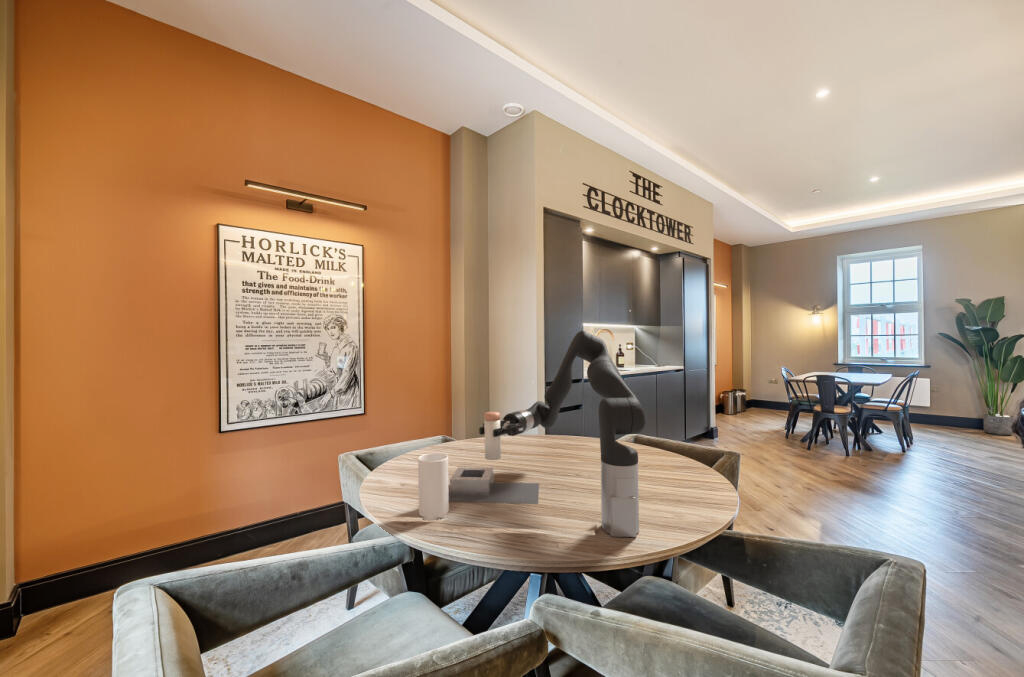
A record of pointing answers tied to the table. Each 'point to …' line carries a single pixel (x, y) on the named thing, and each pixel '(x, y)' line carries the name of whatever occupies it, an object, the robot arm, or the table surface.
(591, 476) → the table surface
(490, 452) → the peg
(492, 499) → the mat
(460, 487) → the socket
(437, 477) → the cup
